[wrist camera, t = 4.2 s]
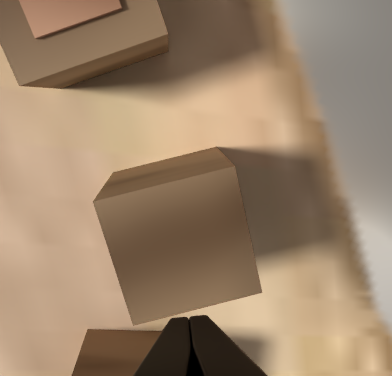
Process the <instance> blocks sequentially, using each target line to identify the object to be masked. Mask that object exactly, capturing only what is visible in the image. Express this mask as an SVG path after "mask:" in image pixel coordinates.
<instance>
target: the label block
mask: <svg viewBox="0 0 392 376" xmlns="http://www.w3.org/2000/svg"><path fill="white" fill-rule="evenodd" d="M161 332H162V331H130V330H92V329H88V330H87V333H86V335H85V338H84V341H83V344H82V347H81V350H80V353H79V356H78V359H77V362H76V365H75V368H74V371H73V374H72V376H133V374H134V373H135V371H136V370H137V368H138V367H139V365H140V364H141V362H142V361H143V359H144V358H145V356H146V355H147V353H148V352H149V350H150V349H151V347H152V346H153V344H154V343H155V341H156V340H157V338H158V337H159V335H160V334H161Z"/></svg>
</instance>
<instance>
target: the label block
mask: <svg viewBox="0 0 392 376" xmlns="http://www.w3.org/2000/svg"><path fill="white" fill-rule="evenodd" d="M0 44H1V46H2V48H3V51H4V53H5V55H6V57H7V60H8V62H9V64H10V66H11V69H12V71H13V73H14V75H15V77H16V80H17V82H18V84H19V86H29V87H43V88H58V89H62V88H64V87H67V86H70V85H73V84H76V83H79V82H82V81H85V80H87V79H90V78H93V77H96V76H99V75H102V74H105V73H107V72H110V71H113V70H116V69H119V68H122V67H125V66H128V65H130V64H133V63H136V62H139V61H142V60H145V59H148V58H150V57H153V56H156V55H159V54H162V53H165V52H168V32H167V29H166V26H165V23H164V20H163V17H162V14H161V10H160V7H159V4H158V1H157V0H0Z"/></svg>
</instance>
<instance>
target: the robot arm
mask: <svg viewBox="0 0 392 376" xmlns="http://www.w3.org/2000/svg"><path fill="white" fill-rule="evenodd" d="M133 376H267V375H266V374H265V373H264V372H263V371H262V370H261V369H260V368H259V367H258V366H257V365H256V364H255V363H254V362H253V361H252V360H251V359H250V358H249V357H248V356H247V355H246V354H245V353H244V352H243V351H242V350H241V349H240V348H239V347H238V346H237V345H236V344H235V343H234V342H233V341H232V340H231V339H230V338H229V337H228V336H227V335H226V334H225V333H224V332H223V331H222V330H221V329H220V328H219V327H218V326H217V325H216V324H215V323H214V322H213V321H212V320H211V319H210V318H209V317H208V316H206V315H200V316H192V317H190V318H189V319H188V318H187V317H179V318H172V319H170V320H169V322H168V323H167V325H166V326H165V328H164V329H163V331H162V332H161V334H160V335H159V337H158V338H157V340H156V341H155V343H154V344H153V346H152V347H151V349H150V350H149V352H148V353H147V355H146V356H145V358H144V359H143V361H142V362H141V364H140V365H139V367H138V368H137V370H136V371H135V373H134V374H133Z"/></svg>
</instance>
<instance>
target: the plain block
mask: <svg viewBox="0 0 392 376" xmlns="http://www.w3.org/2000/svg"><path fill="white" fill-rule="evenodd" d="M93 203H94V206H95V209H96V212H97V215H98V219H99V222H100V225H101V228H102V231H103V234H104V237H105V240H106V243H107V246H108V249H109V252H110V256H111V259H112V262H113V265H114V268H115V271H116V274H117V277H118V280H119V283H120V286H121V289H122V293H123V296H124V299H125V302H126V305H127V308H128V311H129V314H130V317H131V320H132V323H133V326H134V325H138V324H141V323H145V322H149V321H153V320H157V319H161V318H165V317H169V316H173V315H177V314H180V313H184V312H188V311H192V310H196V309H200V308H204V307H208V306H212V305H216V304H219V303H223V302H227V301H231V300H235V299H239V298H243V297H247V296H251V295H255V294H258V293H262V289H261V285H260V280H259V275H258V271H257V266H256V261H255V257H254V252H253V247H252V243H251V238H250V233H249V229H248V224H247V219H246V215H245V210H244V205H243V201H242V196H241V191H240V187H239V182H238V177H237V173H236V168H235V165H234V164H233V163H232V162H231V161H230V160H229V159H228V158H227V157H226V156H225V155H224V154H223V153H222V152H221V151H220V150H219V149H218V148H217V147H214V148H210V149H206V150H202V151H198V152H194V153H190V154H186V155H182V156H178V157H174V158H170V159H165V160H161V161H157V162H153V163H149V164H145V165H141V166H137V167H133V168H129V169H125V170H121V171H117V172H113V173H112V175H111V176H110V178H109V179H108V181H107V182H106V184H105V185H104V186H103V188H102V189H101V191H100V192H99V194H98V195H97V196H96V198H95V199H94V201H93Z"/></svg>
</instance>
